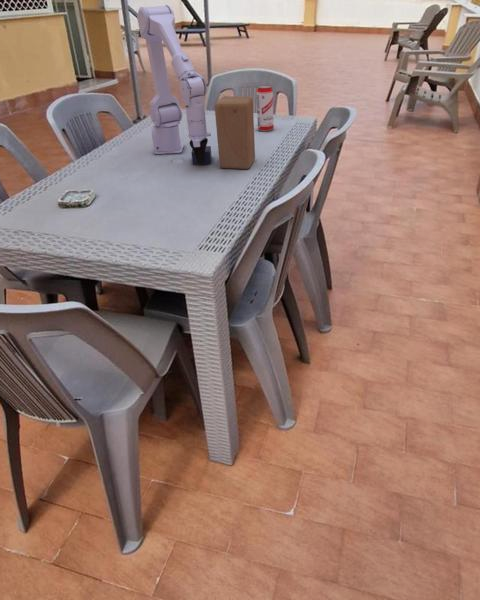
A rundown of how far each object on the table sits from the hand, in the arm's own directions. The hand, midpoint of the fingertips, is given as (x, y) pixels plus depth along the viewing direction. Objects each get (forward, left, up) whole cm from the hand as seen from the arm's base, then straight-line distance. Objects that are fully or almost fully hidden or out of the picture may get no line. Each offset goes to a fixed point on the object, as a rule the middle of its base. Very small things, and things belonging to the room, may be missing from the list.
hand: (201, 162), depth 151 cm
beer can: (+23, +39, -1) cm, 45 cm away
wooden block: (+12, 0, -1) cm, 12 cm away
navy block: (0, +4, -1) cm, 5 cm away
